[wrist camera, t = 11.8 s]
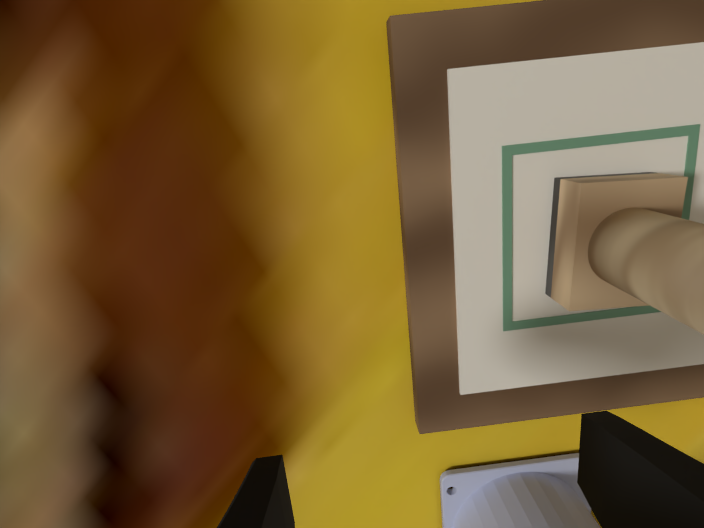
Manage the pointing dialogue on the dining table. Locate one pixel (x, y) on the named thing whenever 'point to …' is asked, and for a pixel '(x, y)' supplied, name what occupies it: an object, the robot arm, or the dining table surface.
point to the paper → (536, 206)
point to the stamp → (626, 246)
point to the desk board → (436, 191)
